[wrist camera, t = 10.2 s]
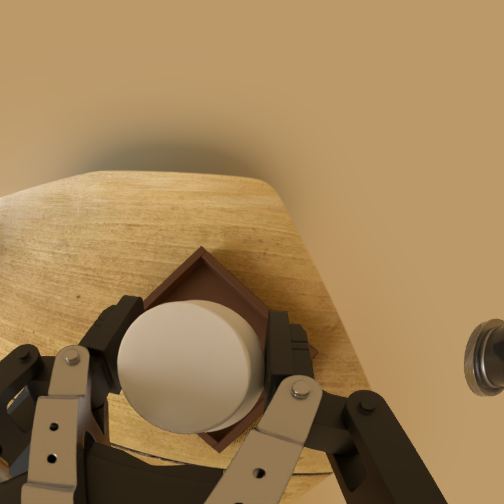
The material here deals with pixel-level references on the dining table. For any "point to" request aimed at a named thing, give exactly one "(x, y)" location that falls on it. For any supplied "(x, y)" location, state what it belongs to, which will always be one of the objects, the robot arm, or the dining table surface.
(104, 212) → the dining table surface
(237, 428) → the tray
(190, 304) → the pill bottle
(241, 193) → the dining table surface
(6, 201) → the dining table surface
